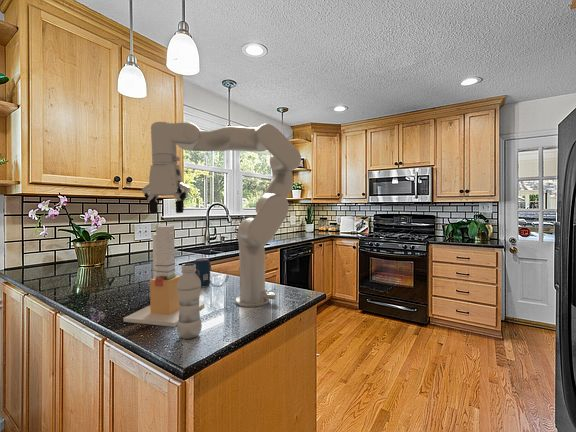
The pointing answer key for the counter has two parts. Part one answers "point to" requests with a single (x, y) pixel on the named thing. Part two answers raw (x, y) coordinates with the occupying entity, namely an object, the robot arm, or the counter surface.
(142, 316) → the stand base
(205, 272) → the soda can
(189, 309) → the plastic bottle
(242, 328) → the counter surface
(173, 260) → the steel column
